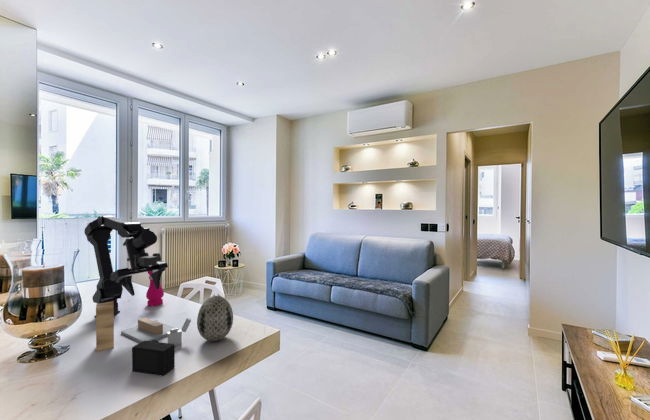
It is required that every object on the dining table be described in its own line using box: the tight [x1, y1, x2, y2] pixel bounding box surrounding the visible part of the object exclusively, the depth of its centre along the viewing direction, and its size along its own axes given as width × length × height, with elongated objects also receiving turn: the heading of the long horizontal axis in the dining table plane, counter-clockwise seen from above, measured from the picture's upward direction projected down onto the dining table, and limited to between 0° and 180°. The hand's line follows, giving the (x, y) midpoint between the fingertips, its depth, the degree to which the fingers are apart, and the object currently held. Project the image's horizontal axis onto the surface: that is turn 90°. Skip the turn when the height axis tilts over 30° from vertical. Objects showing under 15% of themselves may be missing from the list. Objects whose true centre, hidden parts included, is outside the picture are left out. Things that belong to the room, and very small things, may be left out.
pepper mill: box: [145, 271, 165, 307], centre depth 138 cm, size 7×7×20 cm
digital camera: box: [131, 340, 176, 377], centre depth 84 cm, size 10×5×7 cm, turn 77°
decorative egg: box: [196, 295, 234, 342], centre depth 101 cm, size 12×12×15 cm
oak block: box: [95, 301, 115, 352], centre depth 96 cm, size 4×4×14 cm
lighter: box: [166, 317, 192, 347], centre depth 99 cm, size 7×2×8 cm, turn 119°
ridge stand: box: [120, 317, 180, 343], centre depth 107 cm, size 16×12×4 cm
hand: (146, 292), depth 112 cm, fingers open, 9 cm apart
